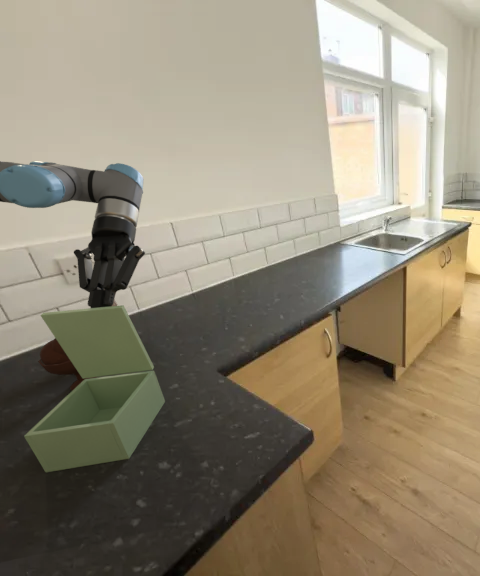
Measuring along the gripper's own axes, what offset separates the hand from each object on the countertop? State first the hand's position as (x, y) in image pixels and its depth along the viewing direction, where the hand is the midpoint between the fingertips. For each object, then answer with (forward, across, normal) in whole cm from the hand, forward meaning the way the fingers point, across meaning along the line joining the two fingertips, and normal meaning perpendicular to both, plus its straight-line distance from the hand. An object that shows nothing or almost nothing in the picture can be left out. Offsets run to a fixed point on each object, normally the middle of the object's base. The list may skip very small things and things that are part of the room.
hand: (97, 321), depth 64 cm
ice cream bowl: (+7, +16, -24) cm, 30 cm away
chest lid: (+4, 0, -2) cm, 5 cm away
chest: (+21, 0, -10) cm, 23 cm away
